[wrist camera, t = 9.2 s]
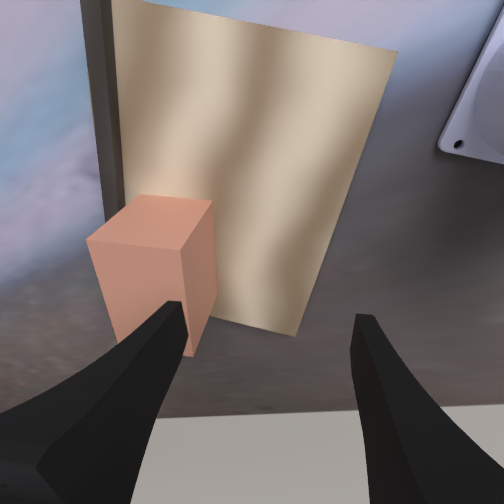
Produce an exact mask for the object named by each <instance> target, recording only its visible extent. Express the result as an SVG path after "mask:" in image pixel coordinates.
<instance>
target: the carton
mask: <svg viewBox="0 0 504 504" xmlns="http://www.w3.org/2000/svg"><path fill="white" fill-rule="evenodd" d="M86 242H87V245H88V248H89V251H90V255H91V258H92V261H93V264H94V267H95V271H96V274H97V277H98V280H99V284H100V287H101V290H102V293H103V296H104V300H105V303H106V306H107V309H108V313H109V316H110V319H111V322H112V325H113V329H114V332H115V335H116V338H117V342H118V344H119V343H120V342H121V341H122V340H123V339H125V338H126V337H127V336H128V335H130V334H131V333H132V332H133V331H134V330H135V329H137V328H138V327H139V326H140V325H141V324H142V323H143V322H144V321H146V320H147V319H148V318H149V317H150V316H151V315H152V314H153V313H154V312H155V311H157V310H158V309H159V308H160V307H161V306H162V305H163V304H164V303H166V302H167V301H168V300H169V301H181V302H182V307H183V311H184V316H185V320H186V325H187V330H188V334H189V336H188V340H187V343H186V347H185V350H184V353H183V356H189V357H193V356H194V354H195V351H196V349H197V346H198V343H199V341H200V338H201V336H202V333H203V331H204V328H205V326H206V323H207V321H208V318H209V315H210V313H211V310H212V308H213V305H214V303H215V300H216V298H217V275H216V255H215V234H214V214H213V201H211V200H200V199H189V198H178V197H167V196H156V195H145V194H139V195H138V196H137V197H136V198H135V199H133V200H132V201H131V202H130V203H129V204H128V205H126V206H125V207H124V208H123V209H122V210H120V211H119V212H118V213H117V214H116V215H114V216H113V217H112V218H111V219H110V220H108V221H107V222H106V223H105V224H104V225H103V226H101V227H100V228H99V229H98V230H97V231H95V232H94V233H93V234H92V235H91V236H89V237H88V238H87V239H86Z"/></svg>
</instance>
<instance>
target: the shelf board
mask: <svg viewBox="0 0 504 504" xmlns="http://www.w3.org/2000/svg"><path fill="white" fill-rule="evenodd" d="M80 5H81V14H82V22H83V31H84V40H85V49H86V57H87V66H88V81H89V89H90V98H91V107H92V116H93V124H94V130H95V136H96V145H97V154H98V162H99V171H100V180H101V189H102V197H103V206H104V215H105V223H106V222H107V221H108V220H110V219H111V218H112V217H113V216H114V215H116V214H117V213H118V212H119V211H120V210H122V209H123V208H124V207H125V206H126V205H128V204H129V203H130V202H131V201H132V200H133V199H135V198H136V197H137V196H138V195H139V194H145V195H156V196H167V197H178V198H189V199H200V200H211V201H213V214H214V234H215V255H216V275H217V298H216V300H215V303H214V305H213V308H212V310H211V313H210V315H209V316H211V317H215V318H220V319H224V320H228V321H232V322H236V323H240V324H244V325H248V326H252V327H257V328H261V329H265V330H269V331H273V332H277V333H281V334H285V335H289V336H294V337H296V334H297V331H298V328H299V325H300V323H301V320H302V317H303V314H304V312H305V309H306V306H307V303H308V300H309V298H310V295H311V292H312V289H313V287H314V284H315V281H316V278H317V276H318V273H319V270H320V267H321V264H322V262H323V259H324V256H325V253H326V251H327V248H328V245H329V242H330V240H331V237H332V234H333V231H334V228H335V226H336V223H337V220H338V217H339V215H340V212H341V209H342V206H343V203H344V201H345V198H346V195H347V192H348V190H349V187H350V184H351V181H352V179H353V176H354V173H355V170H356V167H357V165H358V162H359V159H360V156H361V154H362V151H363V148H364V145H365V143H366V140H367V137H368V134H369V131H370V129H371V126H372V123H373V120H374V118H375V115H376V112H377V109H378V106H379V104H380V101H381V98H382V95H383V93H384V90H385V87H386V84H387V82H388V79H389V76H390V73H391V70H392V68H393V65H394V62H395V59H396V57H397V54H398V52H397V51H392V50H387V49H382V48H377V47H372V46H367V45H362V44H357V43H352V42H347V41H342V40H337V39H332V38H326V37H321V36H316V35H311V34H306V33H301V32H296V31H291V30H286V29H281V28H276V27H271V26H266V25H261V24H255V23H250V22H245V21H240V20H235V19H230V18H225V17H220V16H215V15H210V14H205V13H200V12H195V11H190V10H184V9H179V8H174V7H169V6H164V5H159V4H154V3H149V2H144V1H139V0H80Z"/></svg>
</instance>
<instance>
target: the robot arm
mask: <svg viewBox="0 0 504 504" xmlns="http://www.w3.org/2000/svg"><path fill="white" fill-rule="evenodd" d="M458 140H462V143H461V145H460V146H459V147H457V148H454V144H455V142H456V141H458ZM438 147H439V148H440V149H441V150H442V151H444V152H448V153H452V154H457V155H462V156H467V157H471V158H476V159H481V160H486V161H490V162H495V163H500V164H504V6H503V8H502V10H501V12H500V15H499V17H498V19H497V21H496V23H495V25H494V27H493V29H492V31H491V33H490V35H489V37H488V39H487V41H486V43H485V45H484V47H483V49H482V51H481V54H480V56H479V58H478V60H477V62H476V64H475V66H474V68H473V70H472V72H471V74H470V76H469V78H468V80H467V82H466V84H465V86H464V88H463V90H462V93H461V95H460V97H459V99H458V101H457V103H456V105H455V107H454V109H453V111H452V113H451V115H450V117H449V119H448V121H447V123H446V125H445V127H444V129H443V132H442V134H441V136H440V138H439V140H438ZM188 336H189V334H188V330H187V325H186V320H185V316H184V311H183V307H182V302H181V301H169V300H168V301H167V302H166V303H164V304H163V305H162V306H161V307H160V308H159V309H158V310H157V311H155V312H154V313H153V314H152V315H151V316H150V317H149V318H148V319H147V320H146V321H144V322H143V323H142V324H141V325H140V326H139V327H138V328H137V329H135V330H134V331H133V332H132V333H131V334H130V335H128V336H127V337H126V338H125V339H123V340H122V341H121V342H120V343H119V344H117V345H116V346H115V347H114V348H112V349H111V350H110V351H108V352H107V353H106V354H104V355H103V356H102V357H100V358H99V359H97V360H96V361H95V362H93V363H92V364H90V365H89V366H87V367H86V368H84V369H83V370H81V371H80V372H78V373H76V374H75V375H73V376H71V377H70V378H68V379H66V380H65V381H63V382H62V383H60V384H58V385H56V386H55V387H53V388H51V389H49V390H47V391H46V392H44V393H42V394H40V395H38V396H36V397H34V398H32V399H30V400H28V401H26V402H24V403H22V404H20V405H18V406H16V407H14V408H11V409H9V410H7V411H5V412H3V413H0V504H130V502H131V499H132V495H133V491H134V488H135V484H136V481H137V477H138V474H139V470H140V467H141V463H142V460H143V457H144V454H145V450H146V447H147V444H148V441H149V438H150V435H151V432H152V429H153V426H154V423H155V420H156V417H157V414H158V412H159V409H160V407H161V404H162V402H163V400H164V398H165V395H166V393H167V391H168V389H169V386H170V384H171V382H172V380H173V377H174V375H175V373H176V371H177V368H178V366H179V364H180V361H181V359H182V356H183V353H184V350H185V347H186V343H187V340H188ZM350 357H351V370H352V378H353V383H354V389H355V394H356V399H357V405H358V410H359V415H360V420H361V425H362V430H363V437H364V444H365V453H366V464H367V475H368V486H369V497H370V504H504V468H503V467H501V466H500V465H499V464H498V463H497V462H496V461H495V460H493V459H492V458H491V457H490V456H489V455H488V454H487V453H486V452H484V451H483V450H482V449H481V448H480V447H479V446H478V445H477V444H476V443H475V442H474V441H473V440H472V439H471V438H470V437H469V436H468V435H467V434H466V433H465V432H464V431H463V430H461V429H460V428H459V427H458V426H457V425H456V424H455V423H454V422H453V421H452V420H451V418H450V417H449V416H448V415H447V414H446V413H445V412H444V411H443V410H442V409H441V408H440V407H439V406H438V404H437V403H436V402H435V401H434V400H433V399H432V398H431V397H430V395H429V394H428V393H427V392H426V391H425V390H424V388H423V387H422V386H421V385H420V383H419V382H418V381H417V380H416V378H415V377H414V376H413V374H412V373H411V372H410V371H409V369H408V368H407V366H406V365H405V364H404V362H403V361H402V359H401V358H400V357H399V355H398V354H397V352H396V351H395V349H394V348H393V346H392V345H391V343H390V342H389V340H388V339H387V337H386V336H385V334H384V332H383V331H382V329H381V327H380V326H379V324H378V322H377V320H376V318H375V317H374V316H373V315H367V314H356V318H355V323H354V329H353V335H352V341H351V347H350Z"/></svg>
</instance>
